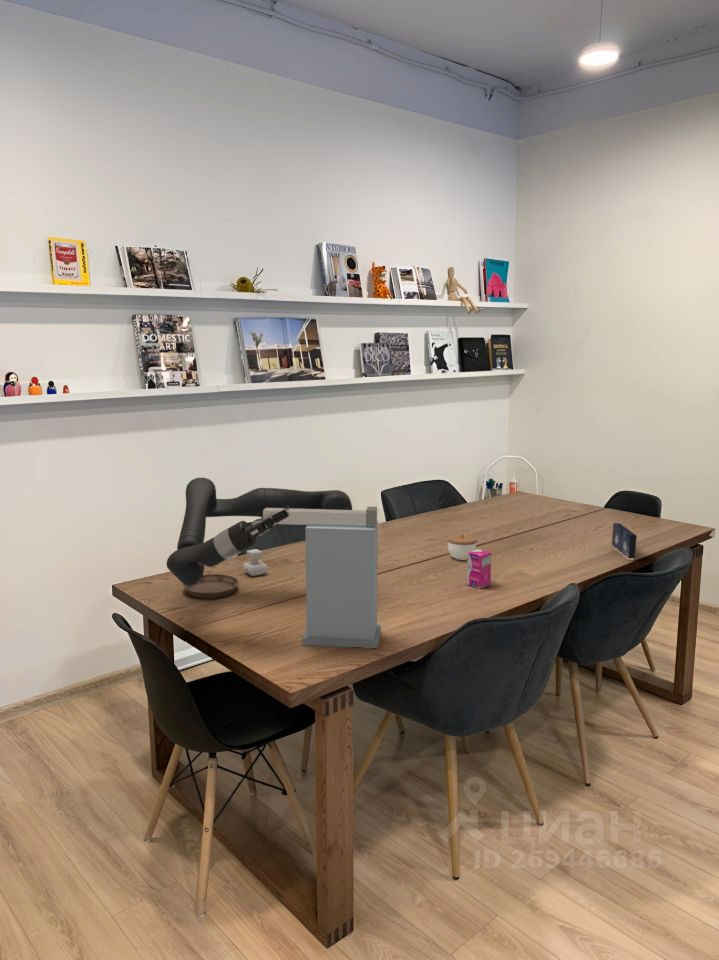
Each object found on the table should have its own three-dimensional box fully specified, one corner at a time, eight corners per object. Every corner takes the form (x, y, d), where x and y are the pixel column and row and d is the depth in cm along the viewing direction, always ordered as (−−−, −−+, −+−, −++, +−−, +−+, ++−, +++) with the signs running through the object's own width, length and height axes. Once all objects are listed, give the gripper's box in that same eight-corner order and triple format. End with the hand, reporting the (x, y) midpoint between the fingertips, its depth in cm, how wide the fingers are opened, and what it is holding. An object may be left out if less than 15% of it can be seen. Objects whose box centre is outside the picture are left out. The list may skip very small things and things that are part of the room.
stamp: (247, 579, 252) (247, 555, 251) (239, 574, 257) (238, 550, 256) (271, 574, 257) (270, 551, 255) (262, 569, 262) (262, 546, 261)
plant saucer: (250, 588, 243) (249, 579, 243) (213, 604, 229) (212, 595, 228) (209, 579, 252) (209, 570, 252) (171, 594, 238) (171, 585, 237)
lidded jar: (475, 554, 281) (475, 530, 279) (476, 563, 271) (477, 538, 269) (446, 553, 282) (447, 529, 280) (447, 562, 272) (447, 537, 270)
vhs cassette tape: (635, 561, 273) (636, 535, 272) (626, 561, 273) (628, 535, 272) (618, 547, 291) (620, 522, 290) (611, 547, 291) (612, 522, 290)
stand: (302, 645, 198) (300, 528, 192) (310, 627, 210) (309, 517, 204) (377, 648, 196) (377, 531, 190) (380, 631, 208) (381, 519, 202)
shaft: (262, 524, 197) (262, 507, 196) (266, 519, 201) (266, 503, 200) (375, 527, 194) (375, 510, 193) (377, 523, 198) (377, 506, 197)
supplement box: (466, 585, 246) (467, 552, 244) (476, 581, 250) (477, 548, 248) (480, 589, 242) (481, 555, 240) (491, 585, 246) (492, 552, 244)
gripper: (220, 535, 194) (275, 504, 190) (234, 522, 207) (286, 493, 204) (234, 559, 194) (290, 529, 191) (248, 544, 208) (300, 516, 205)
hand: (288, 510), depth 198 cm, fingers closed on shaft, 3 cm apart
